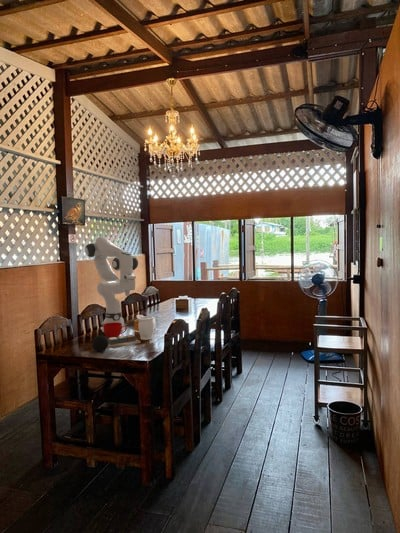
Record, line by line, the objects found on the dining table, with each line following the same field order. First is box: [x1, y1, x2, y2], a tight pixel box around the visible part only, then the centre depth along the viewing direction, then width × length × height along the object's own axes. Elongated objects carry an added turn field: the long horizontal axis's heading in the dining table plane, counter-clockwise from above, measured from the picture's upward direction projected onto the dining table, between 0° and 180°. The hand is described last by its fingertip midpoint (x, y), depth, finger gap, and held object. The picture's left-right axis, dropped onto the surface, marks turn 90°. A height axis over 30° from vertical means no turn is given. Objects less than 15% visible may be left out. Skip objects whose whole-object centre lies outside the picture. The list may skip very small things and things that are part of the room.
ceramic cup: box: [102, 322, 128, 339], centre depth 277 cm, size 13×17×10 cm
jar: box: [137, 315, 155, 341], centre depth 273 cm, size 11×10×15 cm
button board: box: [107, 335, 142, 349], centre depth 261 cm, size 11×22×4 cm, turn 122°
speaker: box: [91, 335, 108, 352], centre depth 243 cm, size 10×10×10 cm
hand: (127, 295), depth 270 cm, fingers closed
